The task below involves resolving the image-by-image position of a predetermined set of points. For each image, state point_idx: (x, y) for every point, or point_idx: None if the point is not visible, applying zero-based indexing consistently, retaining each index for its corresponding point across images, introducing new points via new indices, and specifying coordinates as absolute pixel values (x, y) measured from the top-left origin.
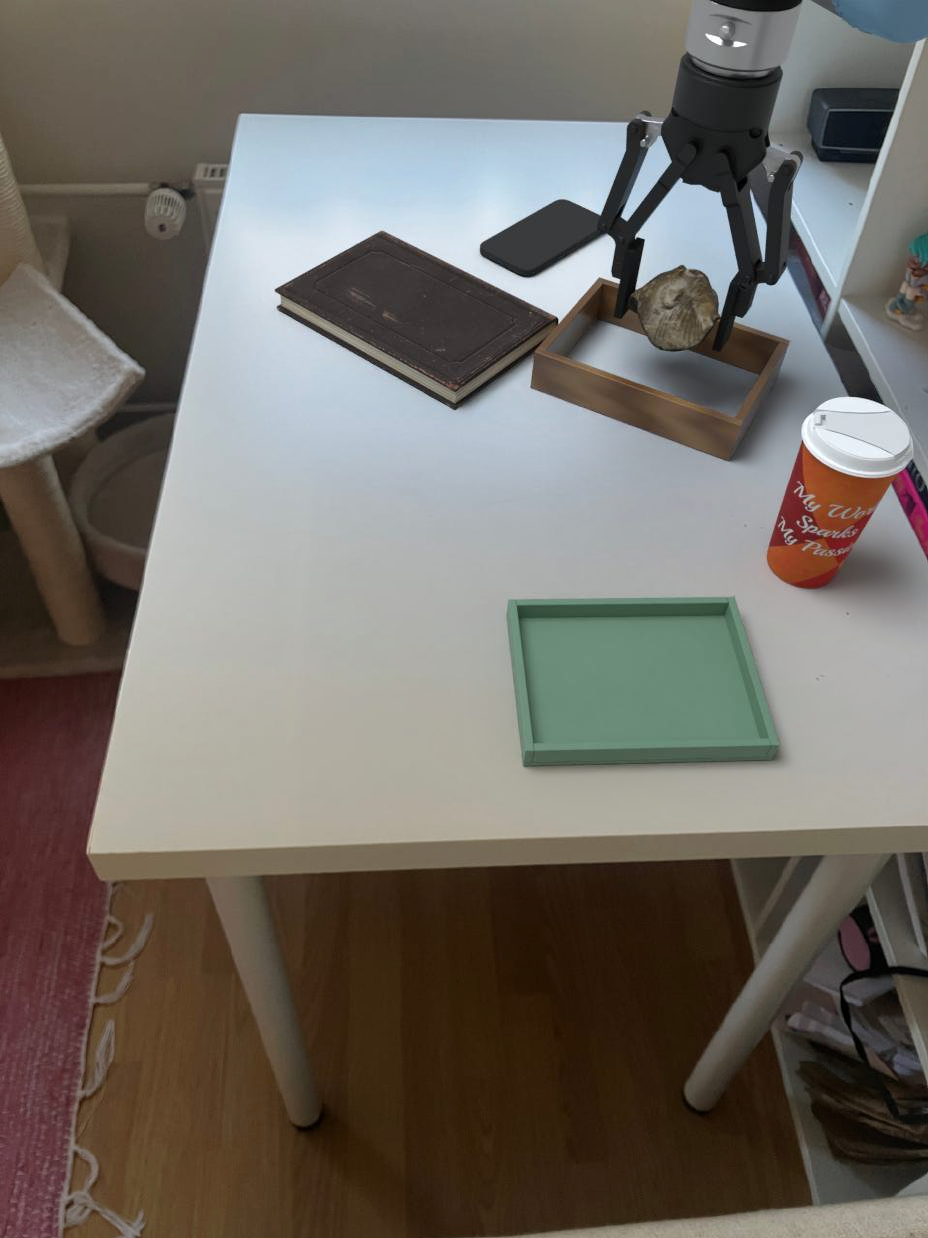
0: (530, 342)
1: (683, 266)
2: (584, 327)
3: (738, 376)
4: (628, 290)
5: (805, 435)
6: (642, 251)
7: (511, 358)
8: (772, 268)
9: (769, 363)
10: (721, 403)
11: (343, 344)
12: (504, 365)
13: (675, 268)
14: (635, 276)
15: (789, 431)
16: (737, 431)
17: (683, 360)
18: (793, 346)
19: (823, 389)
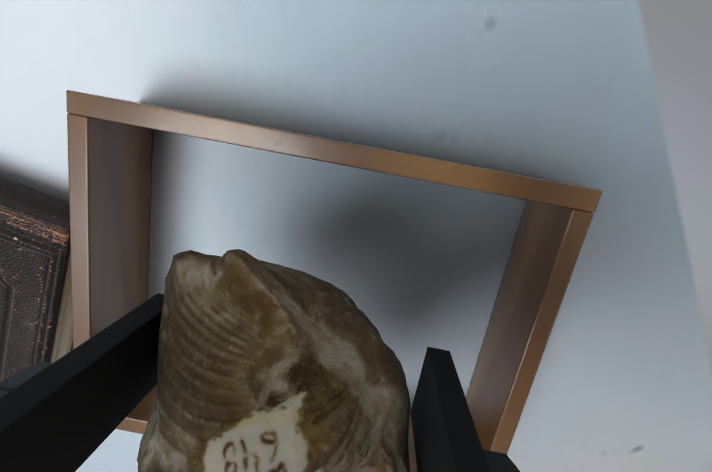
0: (70, 295)
1: (238, 275)
2: (139, 196)
3: (468, 212)
4: (127, 397)
5: None
6: (33, 410)
7: (66, 338)
8: None
9: (545, 304)
10: (443, 303)
11: None
12: (66, 350)
13: (216, 278)
14: (109, 375)
15: (568, 337)
16: None
17: (354, 200)
18: (588, 49)
19: (646, 190)
